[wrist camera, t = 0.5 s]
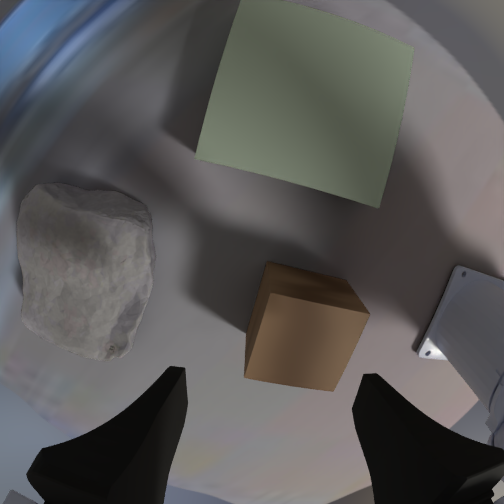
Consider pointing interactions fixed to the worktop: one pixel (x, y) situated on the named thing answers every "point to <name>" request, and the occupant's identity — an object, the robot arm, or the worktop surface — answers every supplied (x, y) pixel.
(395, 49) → the base block
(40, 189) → the stone block
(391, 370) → the worktop surface
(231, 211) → the worktop surface
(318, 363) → the walnut block
